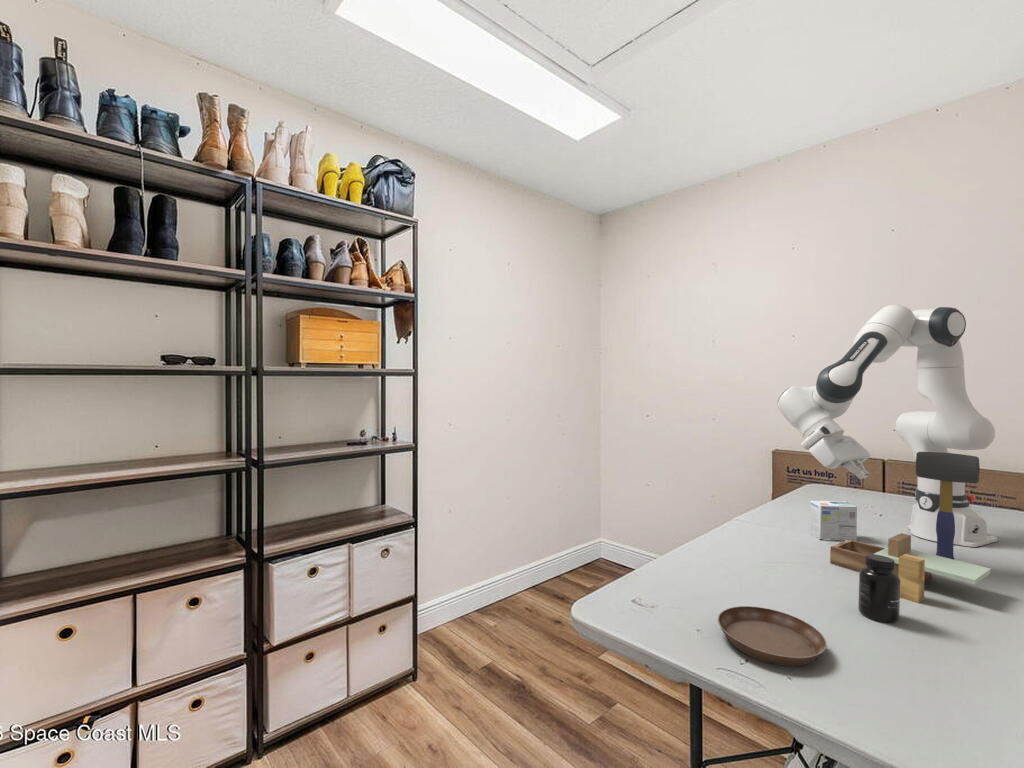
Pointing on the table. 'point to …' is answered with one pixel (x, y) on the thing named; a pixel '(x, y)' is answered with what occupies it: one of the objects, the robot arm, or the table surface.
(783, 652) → the plant saucer
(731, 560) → the table surface
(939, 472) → the rubber mallet
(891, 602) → the supplement bottle
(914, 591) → the light wooden block
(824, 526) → the light bulb box
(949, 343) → the robot arm
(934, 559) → the lid
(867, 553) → the wooden box base
